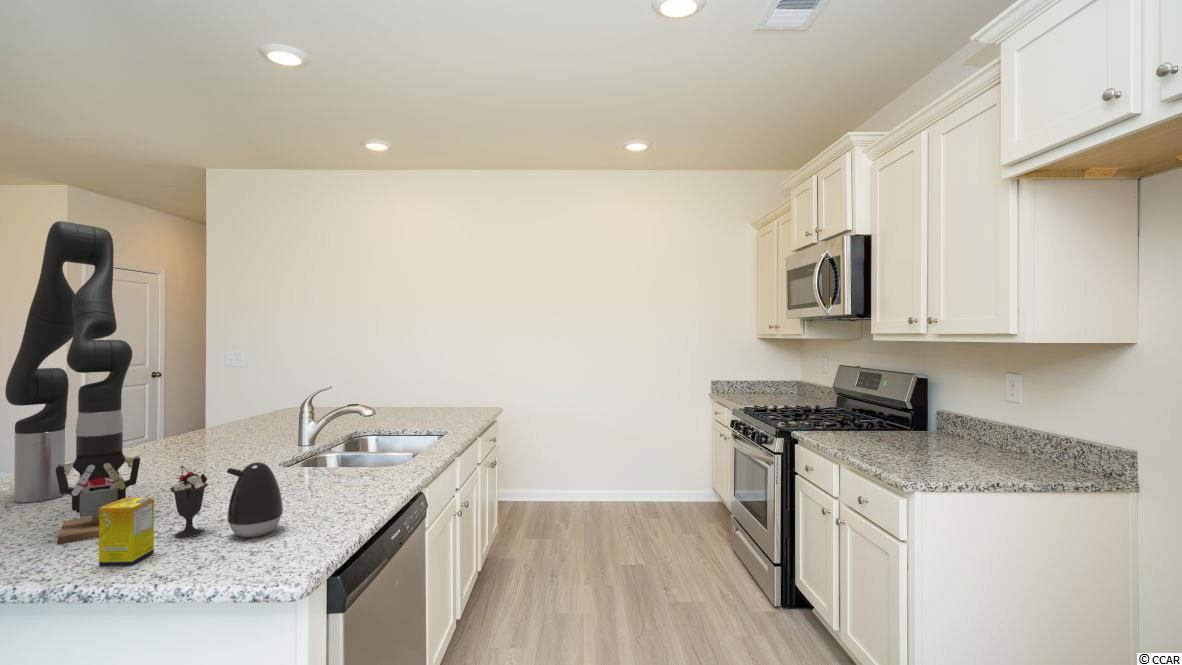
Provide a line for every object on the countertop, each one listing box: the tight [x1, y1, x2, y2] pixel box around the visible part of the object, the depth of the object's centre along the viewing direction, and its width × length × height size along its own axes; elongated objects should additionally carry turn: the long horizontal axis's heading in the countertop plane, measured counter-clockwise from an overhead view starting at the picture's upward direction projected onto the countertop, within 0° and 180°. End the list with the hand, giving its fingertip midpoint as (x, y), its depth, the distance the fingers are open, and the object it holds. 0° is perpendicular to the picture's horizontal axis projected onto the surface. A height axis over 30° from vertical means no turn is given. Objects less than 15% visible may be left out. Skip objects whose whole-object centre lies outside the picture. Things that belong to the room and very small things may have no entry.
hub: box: [79, 483, 118, 519], centre depth 119 cm, size 6×6×5 cm
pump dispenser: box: [226, 461, 284, 538], centre depth 118 cm, size 10×10×15 cm
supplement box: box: [98, 497, 155, 567], centre depth 104 cm, size 6×6×11 cm
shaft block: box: [56, 489, 104, 545], centre depth 119 cm, size 12×12×8 cm
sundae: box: [169, 465, 209, 538], centre depth 117 cm, size 7×7×15 cm
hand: (99, 508), depth 119 cm, fingers closed on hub, 6 cm apart
